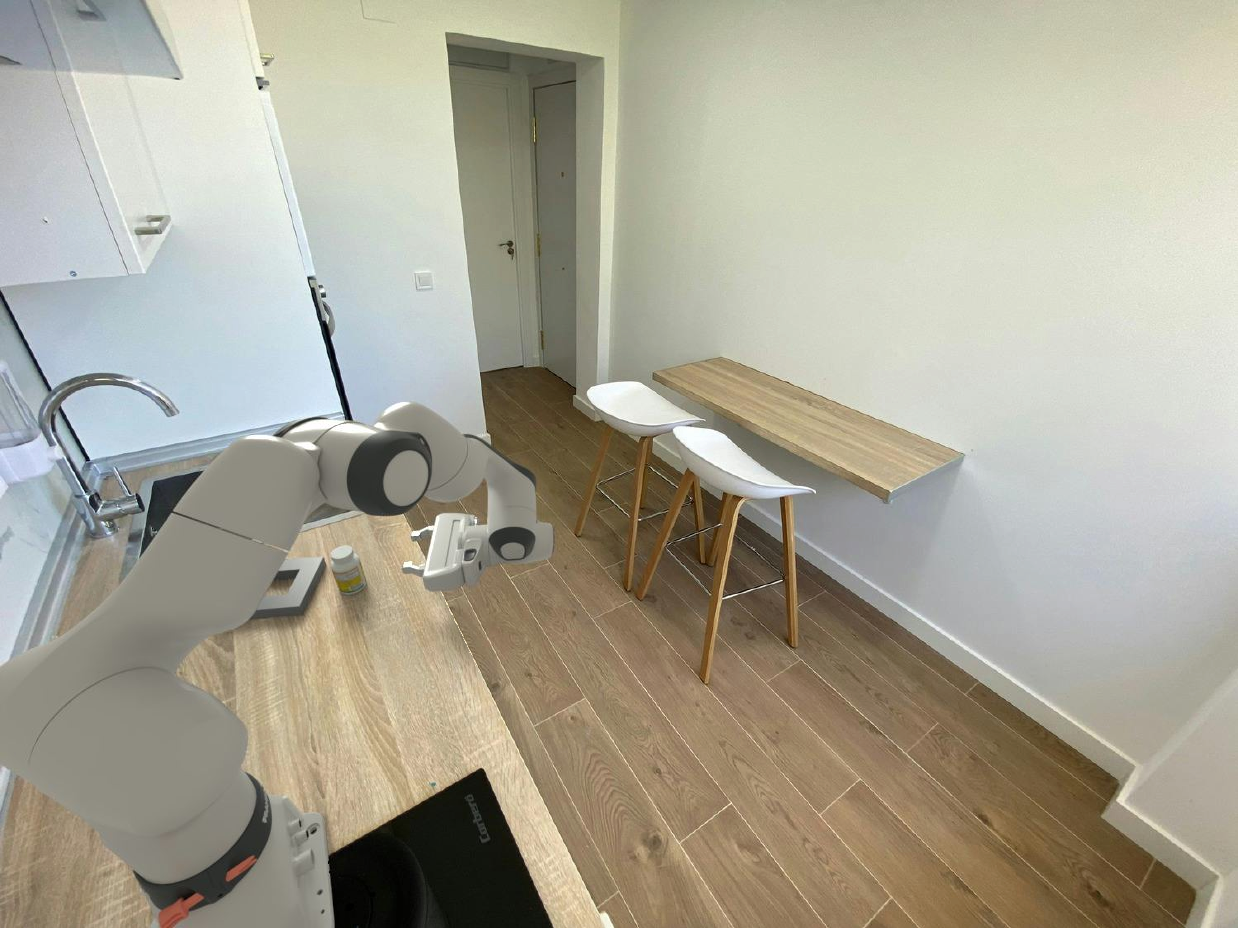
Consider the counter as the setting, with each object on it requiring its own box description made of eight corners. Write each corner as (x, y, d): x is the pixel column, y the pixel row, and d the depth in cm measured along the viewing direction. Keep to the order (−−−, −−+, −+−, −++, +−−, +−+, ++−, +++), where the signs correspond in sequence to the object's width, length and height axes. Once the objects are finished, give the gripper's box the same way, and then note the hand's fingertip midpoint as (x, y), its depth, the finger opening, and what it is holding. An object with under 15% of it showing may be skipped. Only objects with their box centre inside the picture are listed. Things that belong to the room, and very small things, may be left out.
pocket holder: (326, 564, 111) (323, 556, 109) (303, 614, 99) (299, 606, 98) (256, 570, 109) (252, 561, 107) (224, 621, 97) (219, 613, 96)
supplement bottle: (359, 596, 104) (347, 562, 98) (334, 594, 104) (320, 560, 98) (371, 577, 108) (361, 543, 103) (347, 575, 108) (335, 542, 103)
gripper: (478, 504, 112) (413, 508, 110) (470, 570, 96) (393, 576, 94) (481, 525, 116) (419, 530, 114) (474, 593, 99) (400, 600, 97)
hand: (407, 551), depth 104 cm, fingers open, 8 cm apart
